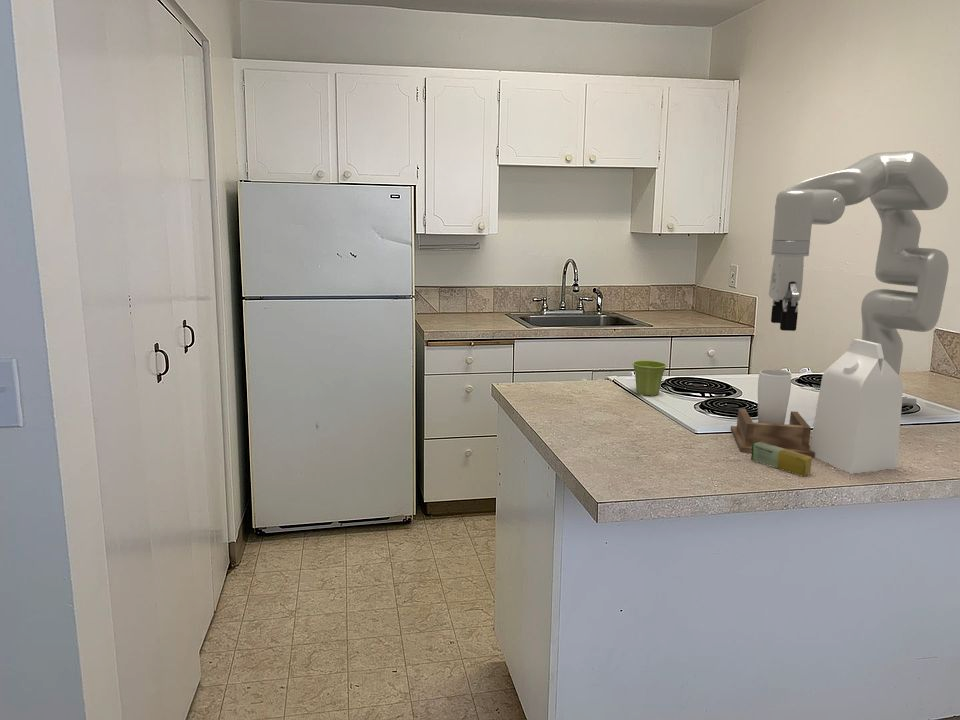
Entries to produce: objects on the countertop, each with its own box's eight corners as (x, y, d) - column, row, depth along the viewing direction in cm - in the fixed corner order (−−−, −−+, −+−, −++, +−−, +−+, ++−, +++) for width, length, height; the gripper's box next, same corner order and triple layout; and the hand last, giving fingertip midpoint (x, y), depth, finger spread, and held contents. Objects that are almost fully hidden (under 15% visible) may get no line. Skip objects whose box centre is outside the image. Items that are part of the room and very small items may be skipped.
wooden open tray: (797, 434, 169) (800, 409, 168) (814, 457, 154) (817, 430, 152) (730, 429, 172) (732, 405, 170) (740, 452, 156) (743, 425, 155)
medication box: (749, 460, 152) (751, 442, 151) (757, 457, 154) (758, 440, 153) (804, 478, 143) (806, 459, 142) (811, 475, 144) (813, 456, 143)
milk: (896, 470, 148) (914, 345, 142) (851, 476, 144) (867, 348, 139) (851, 451, 159) (866, 335, 153) (808, 456, 156) (821, 337, 150)
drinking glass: (788, 442, 160) (794, 376, 156) (756, 440, 161) (761, 375, 158) (783, 433, 166) (788, 369, 163) (751, 431, 167) (756, 368, 164)
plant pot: (643, 387, 211) (645, 358, 209) (671, 394, 204) (673, 364, 202) (623, 392, 204) (625, 363, 203) (651, 399, 198) (653, 368, 196)
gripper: (764, 245, 165) (758, 319, 169) (780, 251, 149) (772, 332, 152) (799, 246, 164) (792, 320, 168) (819, 251, 147) (810, 334, 151)
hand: (782, 326), depth 160 cm, fingers open, 9 cm apart
